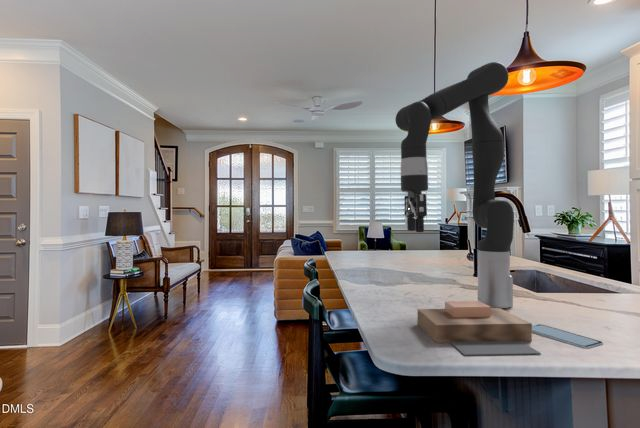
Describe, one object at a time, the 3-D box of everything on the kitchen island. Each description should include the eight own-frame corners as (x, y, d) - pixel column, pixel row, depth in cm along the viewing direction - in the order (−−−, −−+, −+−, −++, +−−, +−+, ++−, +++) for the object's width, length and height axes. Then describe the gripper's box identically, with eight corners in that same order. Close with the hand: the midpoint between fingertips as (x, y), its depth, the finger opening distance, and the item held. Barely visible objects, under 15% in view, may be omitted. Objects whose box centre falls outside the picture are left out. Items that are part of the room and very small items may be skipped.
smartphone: (586, 347, 81) (521, 327, 95) (585, 351, 81) (521, 331, 95) (605, 342, 85) (540, 323, 98) (605, 346, 85) (540, 327, 98)
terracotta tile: (479, 310, 98) (479, 301, 98) (490, 316, 92) (490, 306, 92) (444, 310, 98) (444, 301, 98) (454, 317, 92) (454, 307, 92)
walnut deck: (499, 323, 100) (499, 308, 100) (531, 341, 86) (531, 323, 86) (417, 324, 99) (417, 309, 99) (436, 342, 85) (436, 324, 85)
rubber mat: (520, 342, 86) (520, 340, 86) (540, 354, 78) (540, 353, 78) (450, 343, 85) (450, 341, 85) (464, 355, 78) (464, 354, 78)
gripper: (435, 171, 101) (436, 232, 102) (420, 176, 116) (421, 229, 116) (407, 172, 101) (408, 233, 101) (395, 177, 115) (396, 230, 116)
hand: (415, 231), depth 109 cm, fingers open, 8 cm apart
